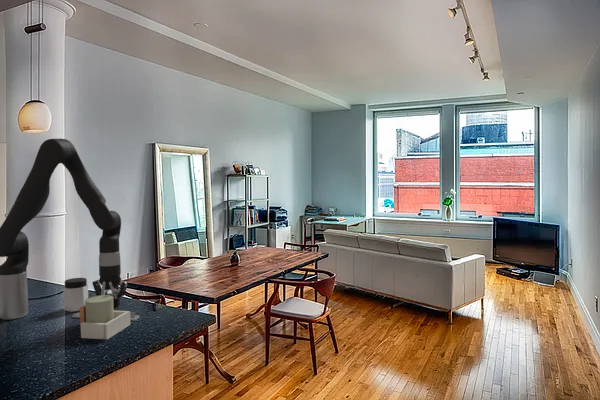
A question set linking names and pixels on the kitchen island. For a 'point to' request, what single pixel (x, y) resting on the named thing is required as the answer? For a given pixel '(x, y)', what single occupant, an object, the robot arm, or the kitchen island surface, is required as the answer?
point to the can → (99, 309)
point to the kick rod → (83, 311)
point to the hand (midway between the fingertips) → (110, 307)
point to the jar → (75, 294)
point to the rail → (130, 316)
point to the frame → (106, 326)
